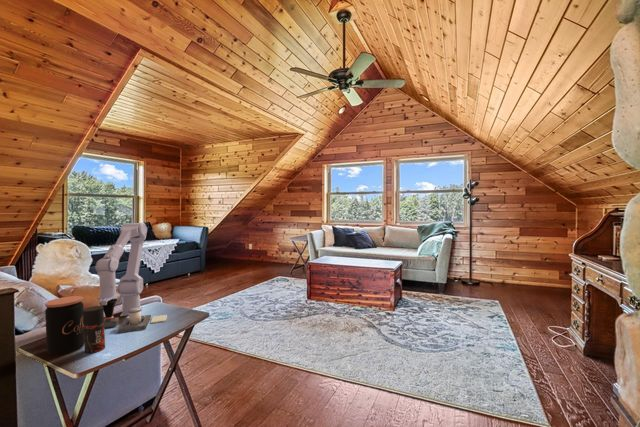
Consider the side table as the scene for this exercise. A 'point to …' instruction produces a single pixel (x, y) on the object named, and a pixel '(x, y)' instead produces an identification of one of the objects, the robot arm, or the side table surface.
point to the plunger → (109, 319)
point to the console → (111, 323)
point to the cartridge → (134, 315)
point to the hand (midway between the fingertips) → (109, 317)
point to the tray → (159, 319)
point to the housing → (126, 327)
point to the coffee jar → (64, 325)
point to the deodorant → (94, 329)
